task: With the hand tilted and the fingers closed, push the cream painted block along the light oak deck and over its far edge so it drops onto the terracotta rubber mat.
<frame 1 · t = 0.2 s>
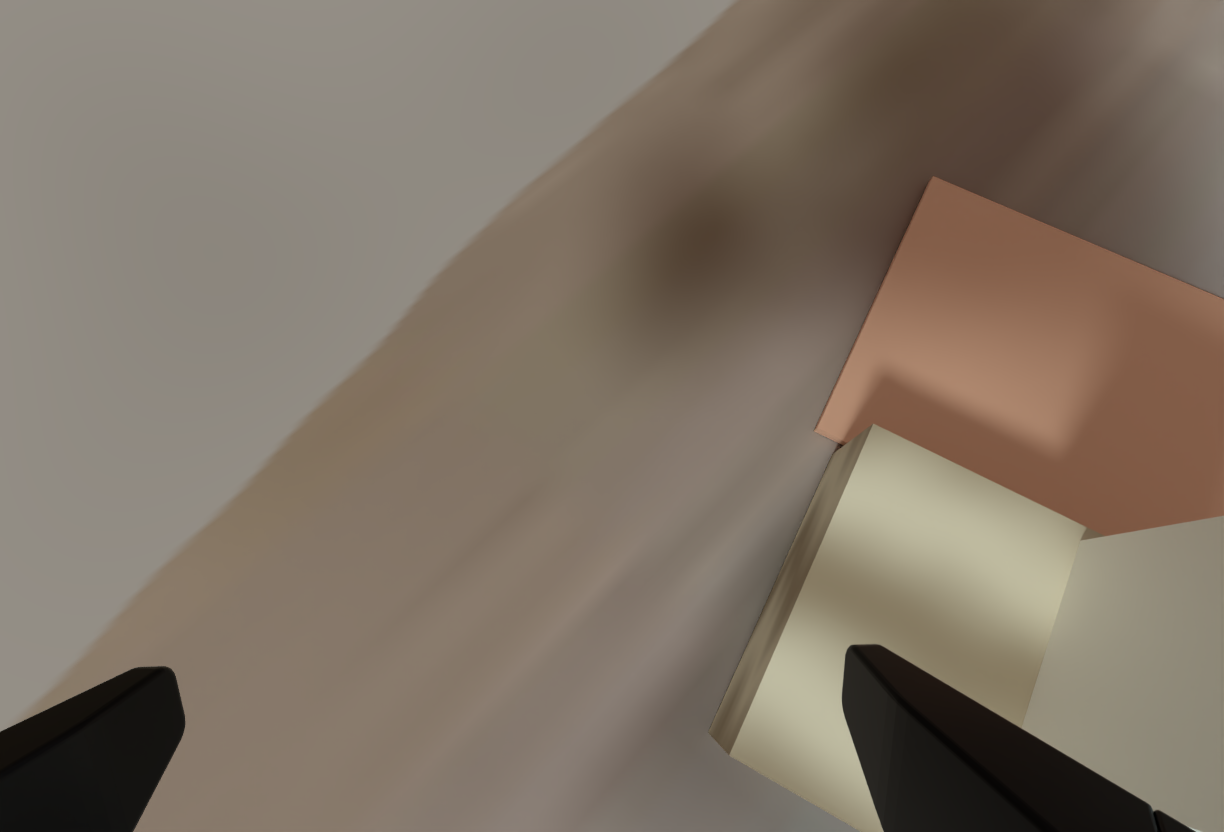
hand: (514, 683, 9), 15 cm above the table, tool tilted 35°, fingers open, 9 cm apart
block: (1148, 699, 19), point 4 cm above the table, touching deck
deck: (1044, 728, 22), on the table
mat: (1138, 418, 25), on the table
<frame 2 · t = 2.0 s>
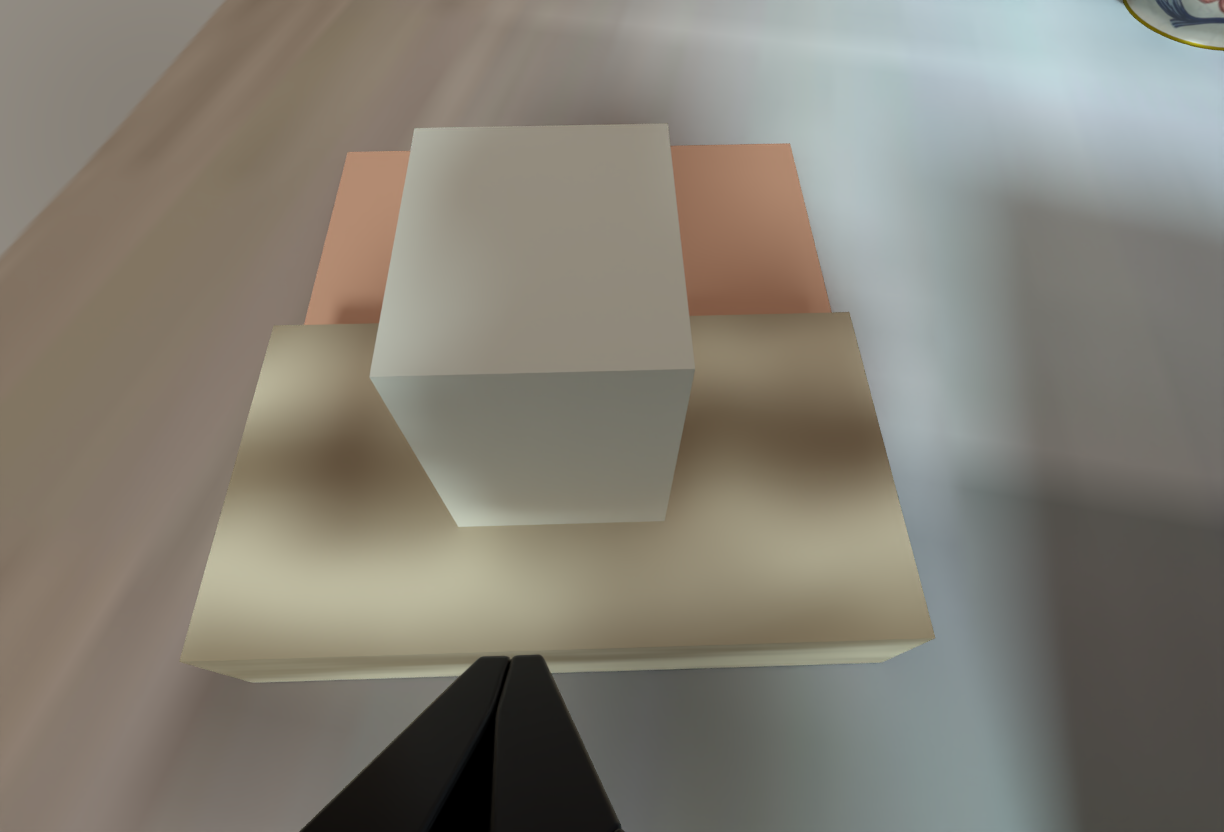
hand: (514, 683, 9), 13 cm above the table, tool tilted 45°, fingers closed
block: (562, 419, 21), point 4 cm above the table, touching deck
deck: (569, 509, 23), on the table
mat: (570, 250, 30), on the table
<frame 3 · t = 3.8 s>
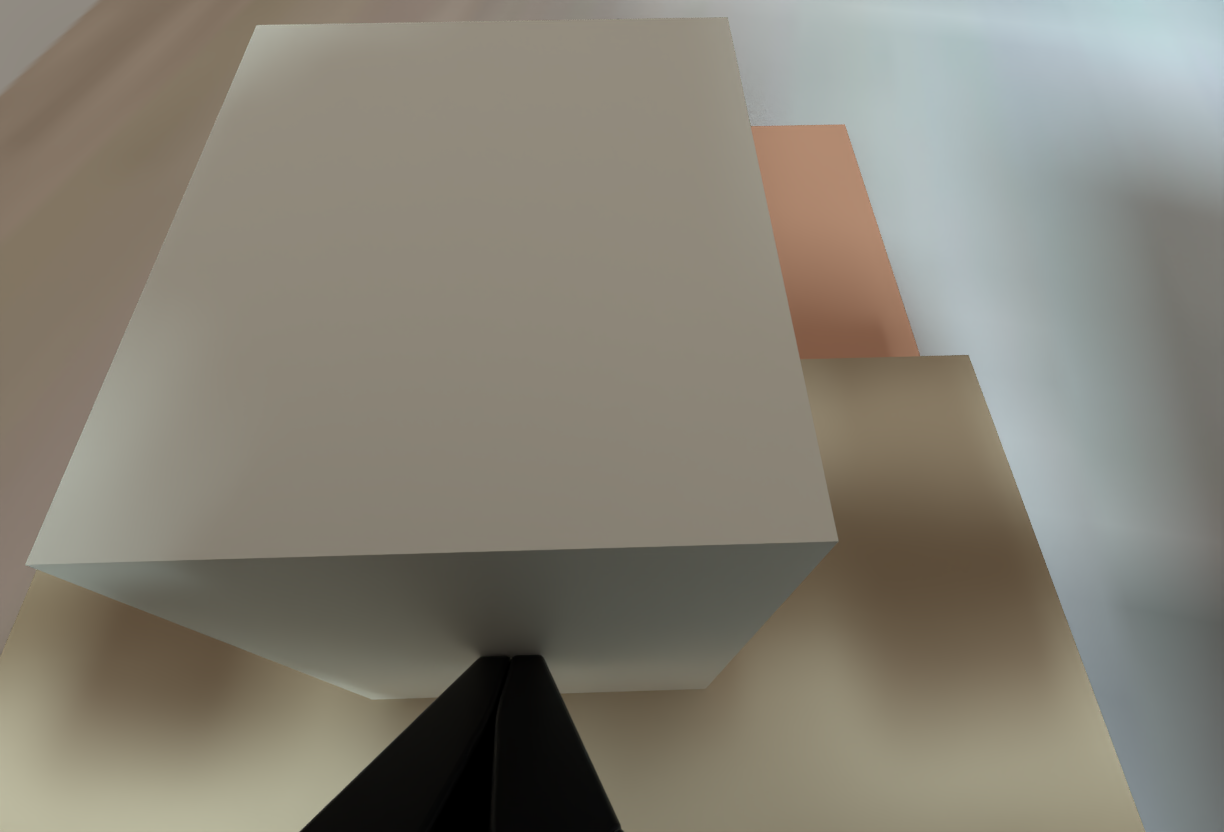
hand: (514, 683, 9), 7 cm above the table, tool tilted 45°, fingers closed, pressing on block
block: (543, 511, 14), point 4 cm above the table, touching deck, gripper
deck: (556, 642, 16), on the table
mat: (561, 262, 22), on the table
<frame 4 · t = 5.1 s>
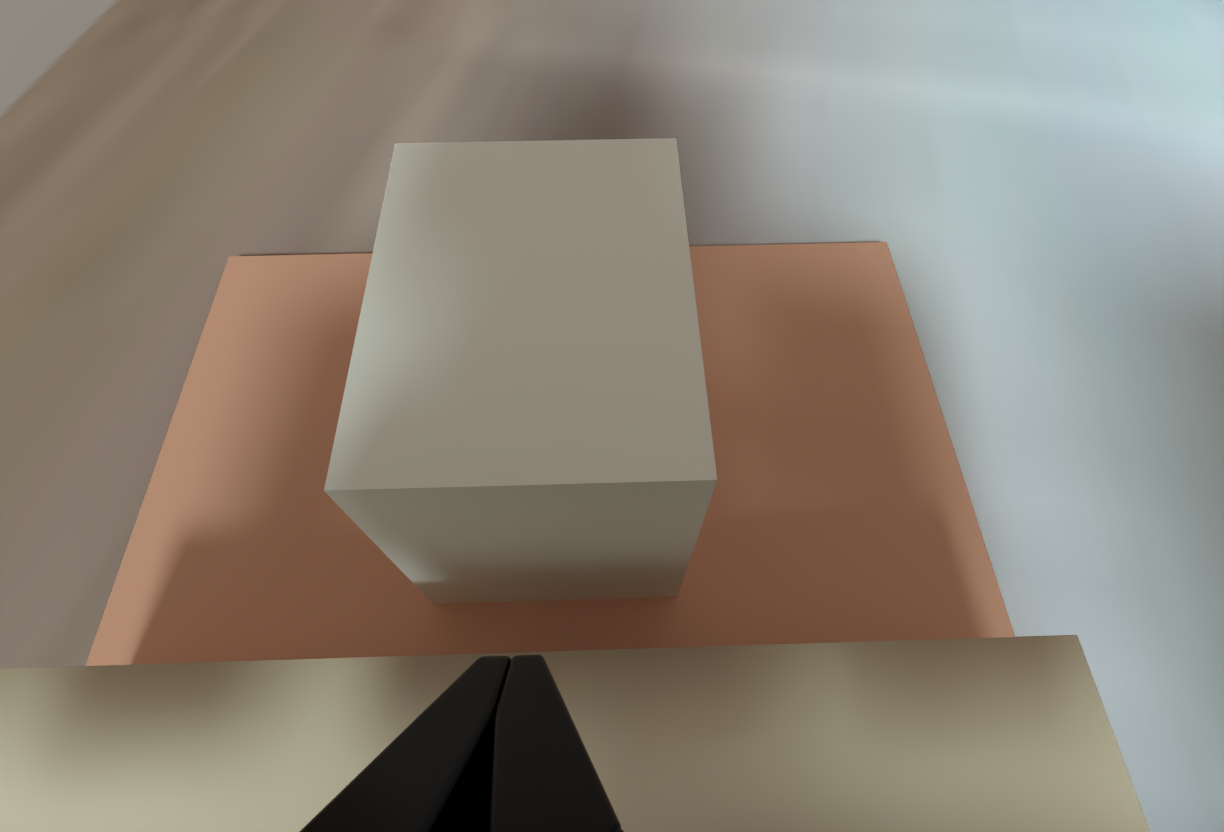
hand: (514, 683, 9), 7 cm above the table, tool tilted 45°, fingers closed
block: (542, 556, 13), point 4 cm above the table, tilted 90°, touching mat
mat: (559, 424, 19), on the table
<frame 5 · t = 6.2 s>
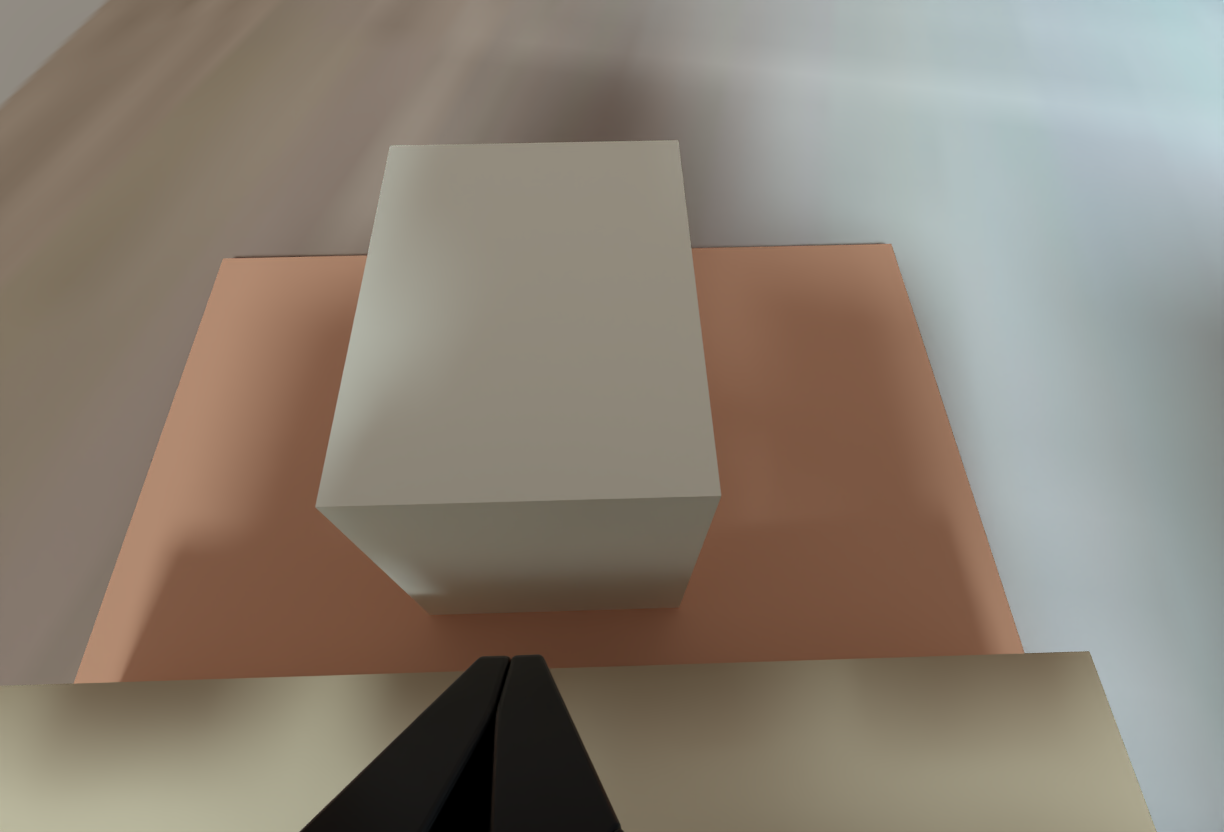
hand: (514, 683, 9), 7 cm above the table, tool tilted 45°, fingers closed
block: (541, 569, 13), point 4 cm above the table, tilted 90°, touching mat
mat: (558, 430, 19), on the table
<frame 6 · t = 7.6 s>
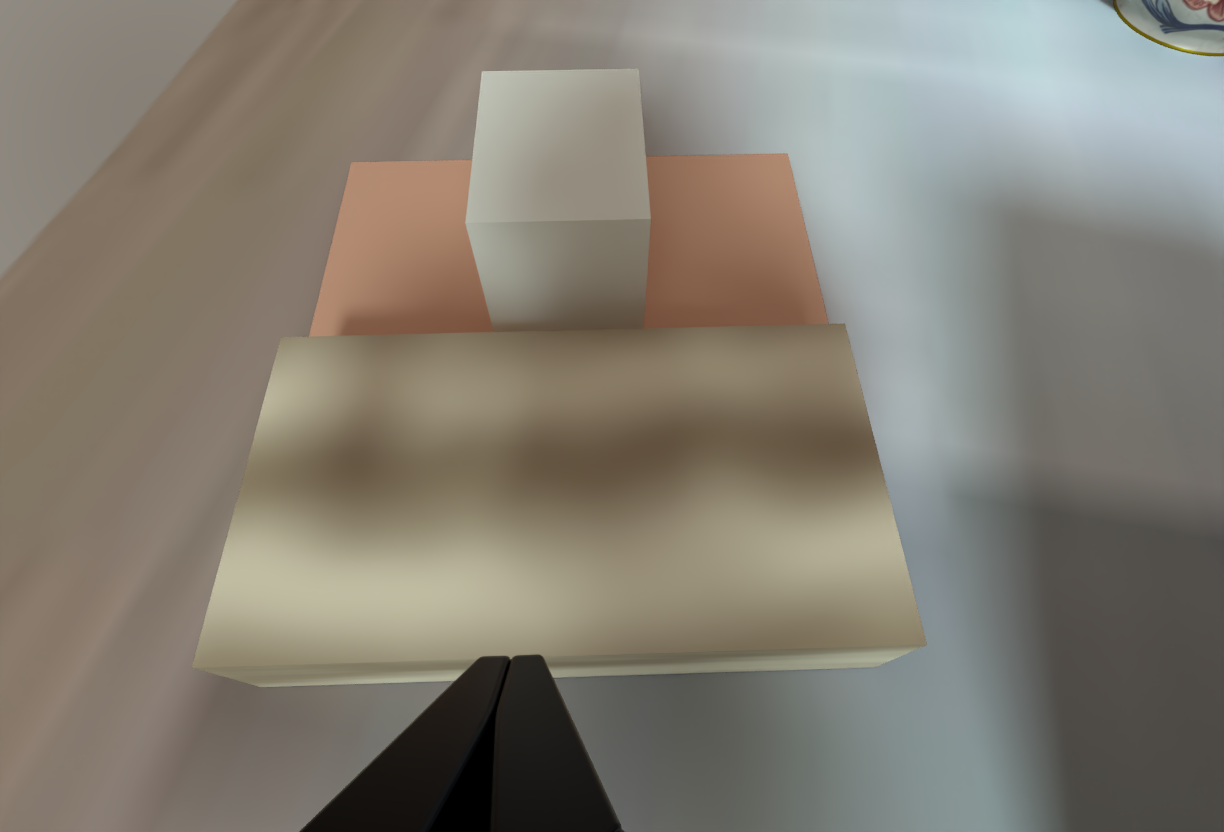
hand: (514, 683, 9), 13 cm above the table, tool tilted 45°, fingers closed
block: (565, 292, 24), point 4 cm above the table, tilted 90°, touching mat
deck: (570, 517, 24), on the table
mat: (571, 260, 30), on the table
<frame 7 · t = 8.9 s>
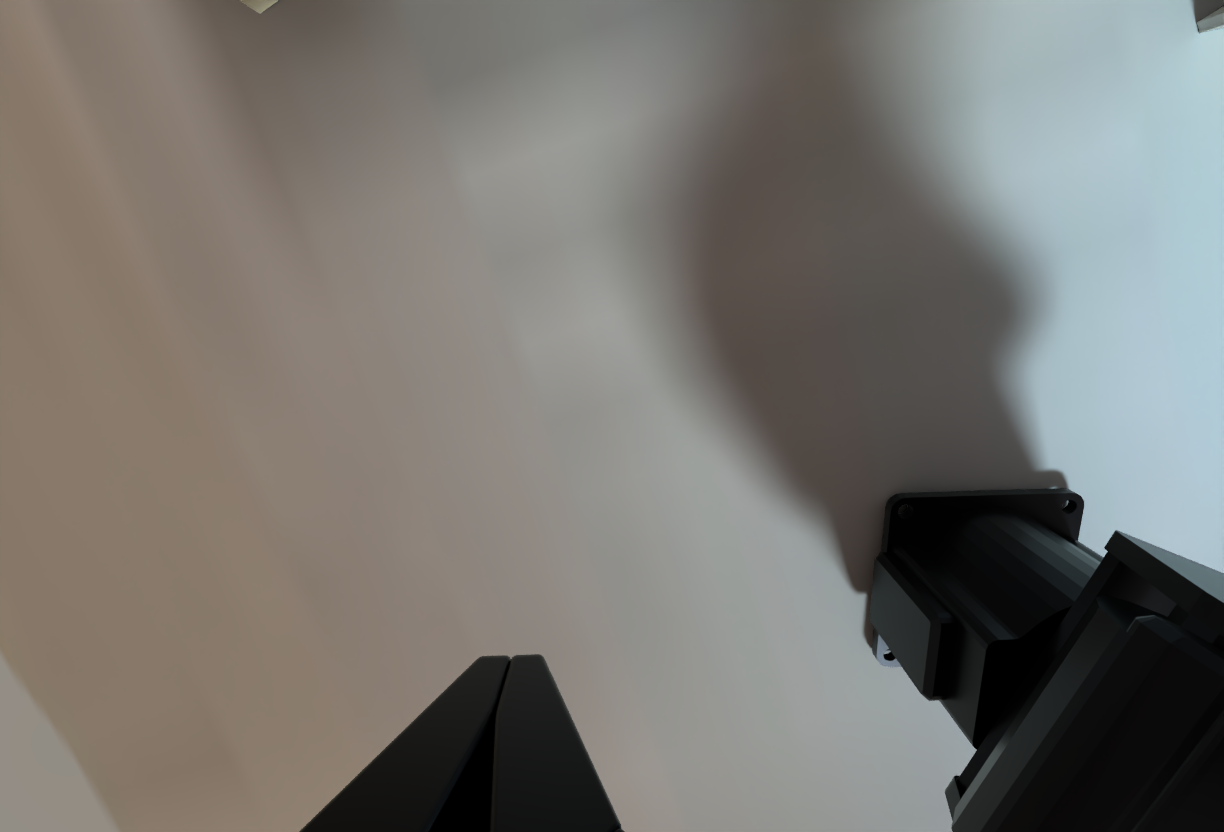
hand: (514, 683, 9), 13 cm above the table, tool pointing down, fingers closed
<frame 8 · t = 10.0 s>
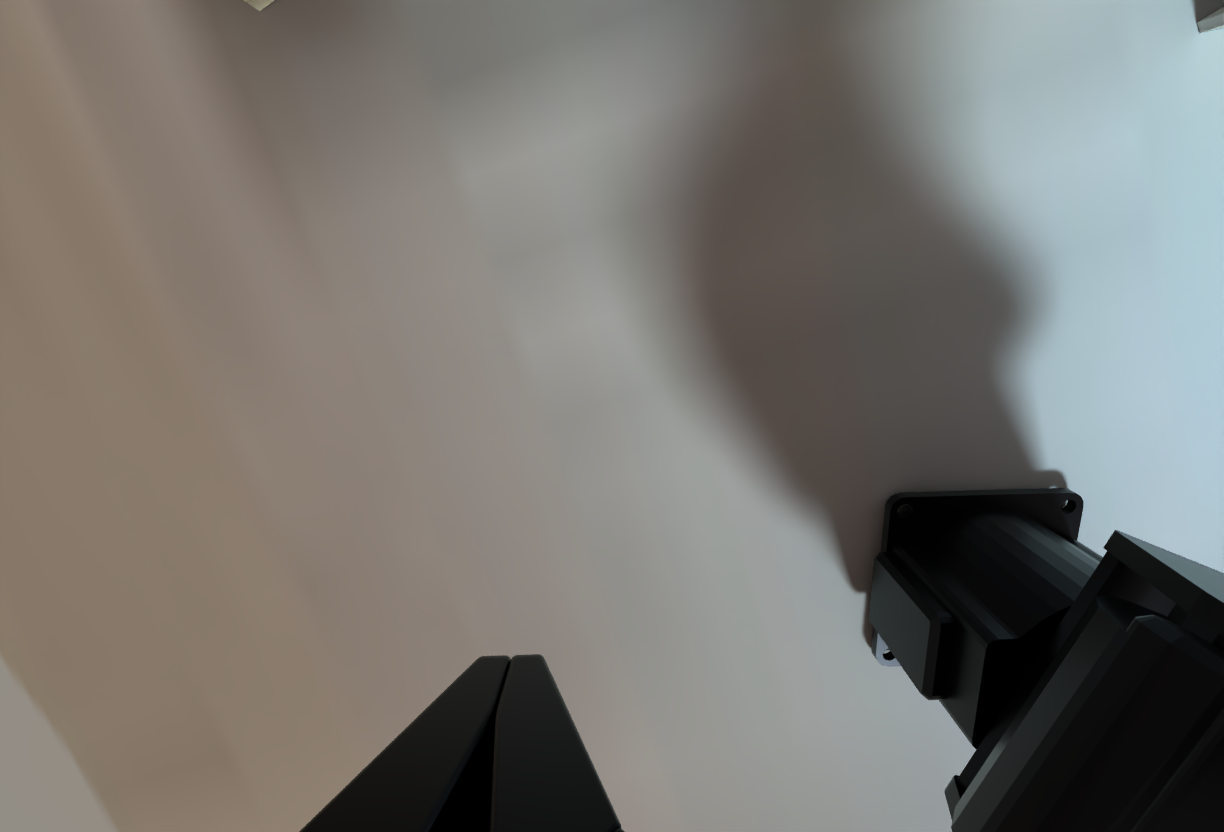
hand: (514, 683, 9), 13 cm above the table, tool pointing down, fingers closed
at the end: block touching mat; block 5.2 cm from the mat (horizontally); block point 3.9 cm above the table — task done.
